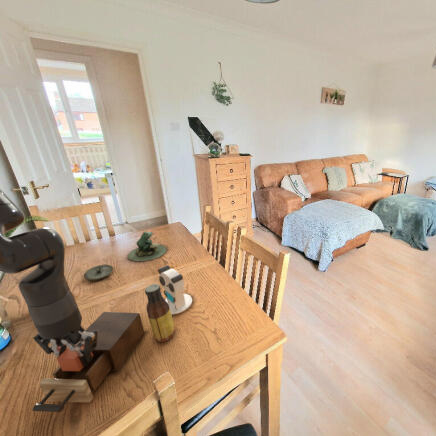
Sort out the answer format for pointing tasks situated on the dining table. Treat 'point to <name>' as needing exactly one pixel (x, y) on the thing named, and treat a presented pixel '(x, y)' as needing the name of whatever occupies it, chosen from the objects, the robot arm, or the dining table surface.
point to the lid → (98, 272)
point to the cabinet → (117, 335)
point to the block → (70, 361)
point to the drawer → (74, 384)
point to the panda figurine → (174, 290)
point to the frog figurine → (146, 249)
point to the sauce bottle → (159, 314)
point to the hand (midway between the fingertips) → (77, 362)
